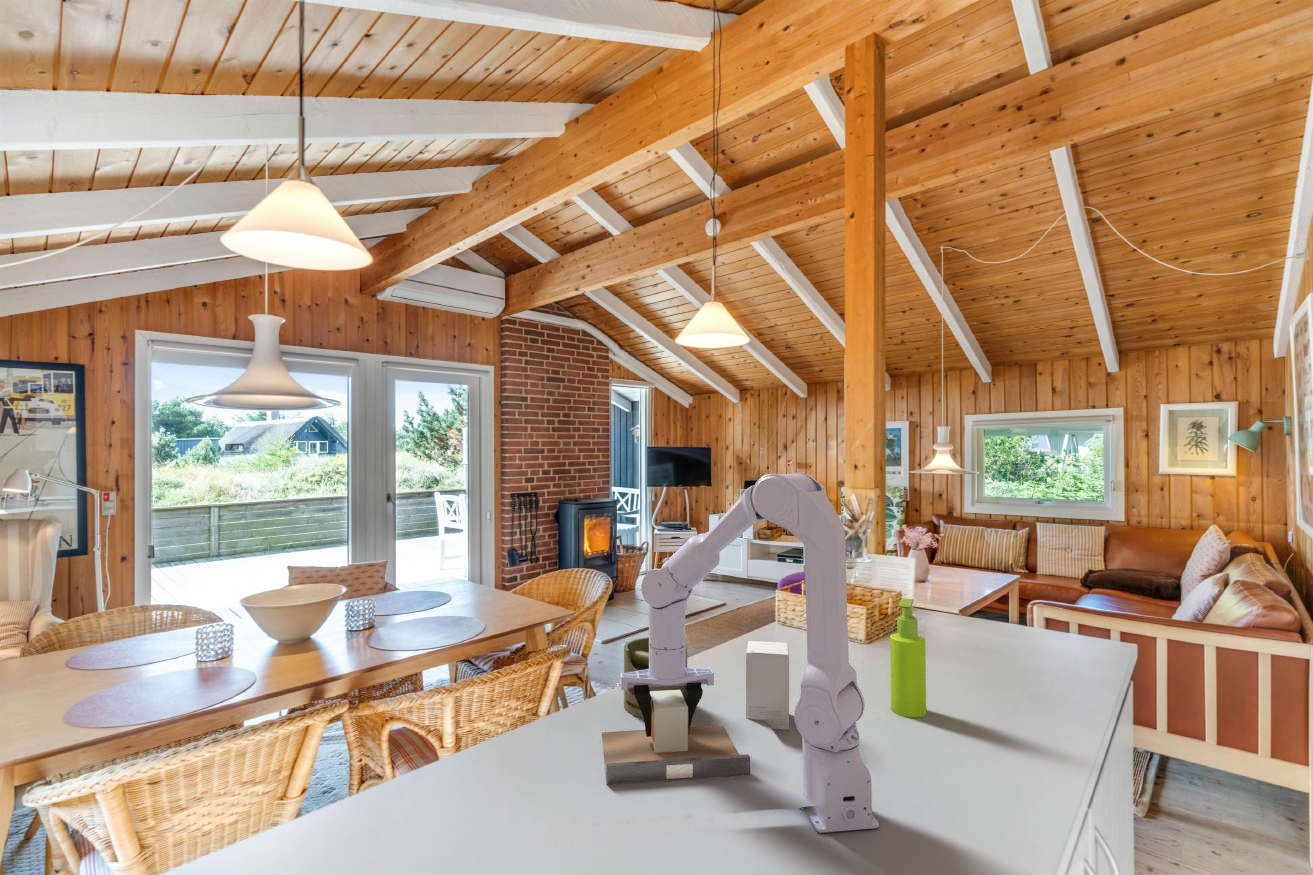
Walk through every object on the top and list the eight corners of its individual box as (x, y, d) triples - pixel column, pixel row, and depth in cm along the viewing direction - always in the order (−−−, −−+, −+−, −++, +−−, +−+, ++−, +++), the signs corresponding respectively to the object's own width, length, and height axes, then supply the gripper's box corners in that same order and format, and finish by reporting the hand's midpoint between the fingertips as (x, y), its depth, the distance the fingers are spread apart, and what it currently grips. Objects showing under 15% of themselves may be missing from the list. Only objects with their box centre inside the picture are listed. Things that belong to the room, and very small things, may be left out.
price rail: (750, 775, 86) (750, 757, 86) (606, 785, 84) (606, 766, 84) (748, 771, 87) (748, 754, 87) (606, 781, 85) (606, 763, 85)
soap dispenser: (888, 715, 110) (886, 601, 110) (893, 702, 116) (891, 594, 116) (924, 722, 107) (922, 605, 107) (927, 708, 113) (926, 597, 113)
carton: (680, 730, 100) (680, 689, 101) (687, 750, 93) (687, 706, 94) (647, 732, 100) (647, 691, 100) (652, 752, 93) (653, 708, 93)
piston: (646, 633, 118) (698, 643, 112) (646, 697, 118) (698, 710, 112) (611, 649, 109) (666, 660, 103) (611, 718, 109) (666, 733, 103)
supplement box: (789, 731, 103) (789, 654, 104) (744, 727, 105) (744, 651, 105) (789, 713, 111) (788, 641, 111) (747, 709, 112) (747, 639, 113)
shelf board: (750, 785, 86) (750, 774, 86) (606, 795, 84) (606, 784, 84) (723, 734, 102) (723, 725, 102) (601, 741, 100) (601, 732, 100)
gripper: (707, 635, 102) (707, 719, 101) (618, 638, 100) (618, 724, 100) (716, 648, 95) (717, 738, 94) (622, 652, 93) (622, 744, 93)
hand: (667, 732), depth 97 cm, fingers closed on carton, 5 cm apart
